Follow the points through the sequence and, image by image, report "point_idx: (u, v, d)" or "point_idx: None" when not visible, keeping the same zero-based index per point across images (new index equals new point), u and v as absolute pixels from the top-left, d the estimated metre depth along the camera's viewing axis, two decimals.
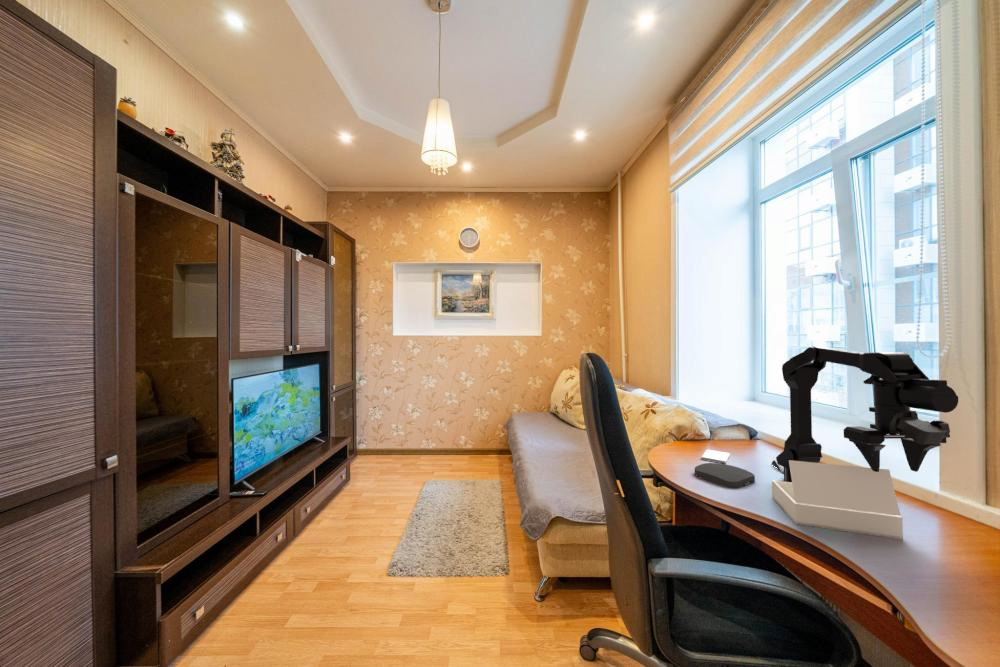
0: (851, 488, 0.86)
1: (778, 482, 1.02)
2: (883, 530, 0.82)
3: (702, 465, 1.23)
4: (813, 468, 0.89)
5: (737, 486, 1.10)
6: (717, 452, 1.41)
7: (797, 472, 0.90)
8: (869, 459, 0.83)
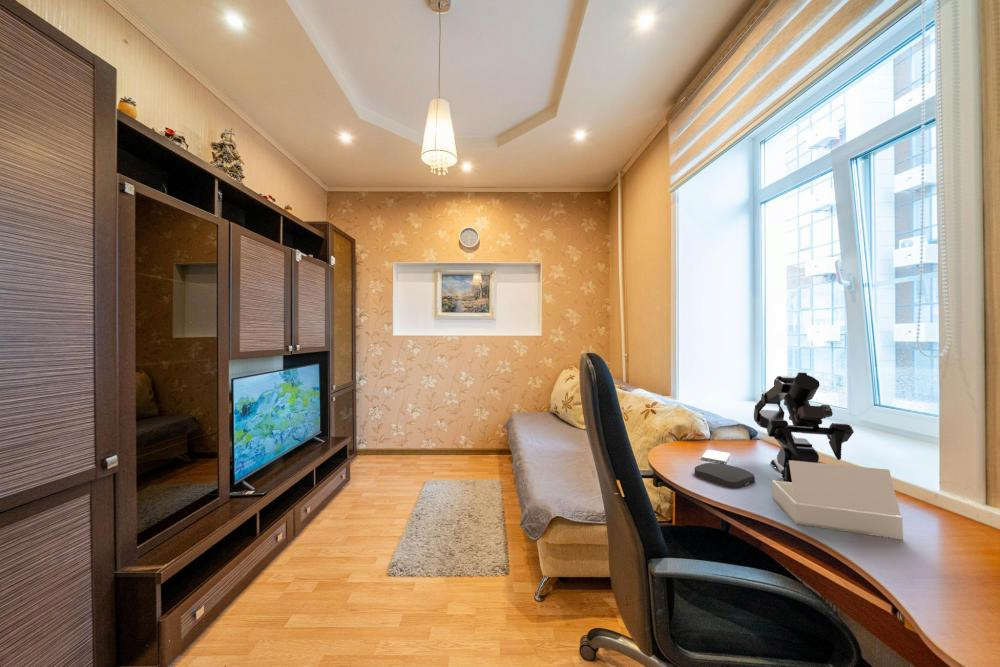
0: (851, 488, 0.86)
1: (778, 482, 1.02)
2: (883, 530, 0.82)
3: (702, 465, 1.23)
4: (813, 468, 0.89)
5: (737, 486, 1.10)
6: (717, 452, 1.41)
7: (797, 472, 0.90)
8: (790, 447, 1.01)
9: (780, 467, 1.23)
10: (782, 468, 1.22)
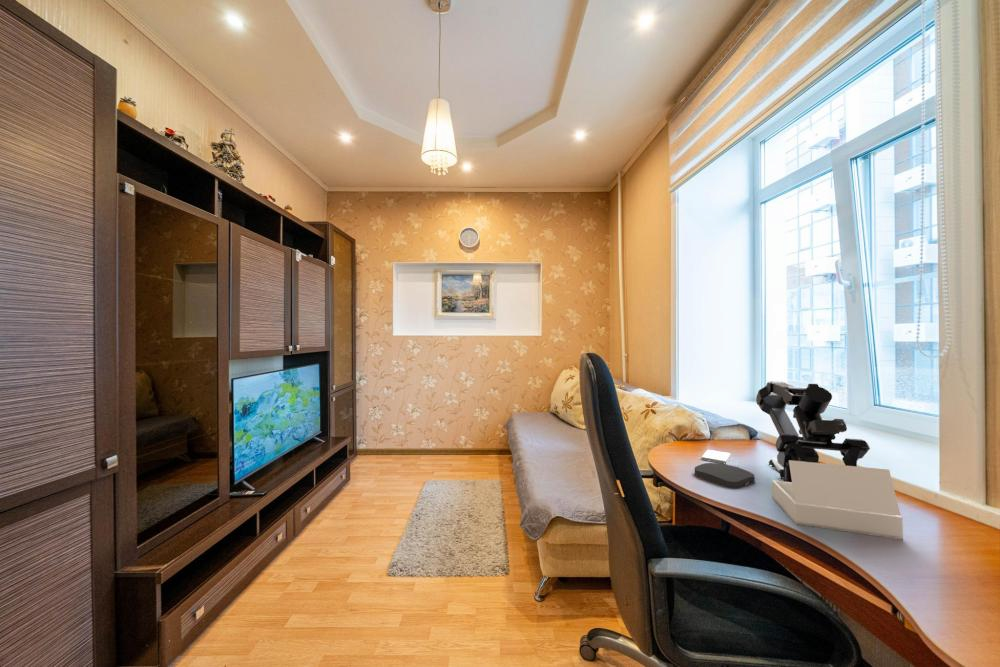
0: (851, 488, 0.86)
1: (778, 482, 1.02)
2: (883, 530, 0.82)
3: (702, 465, 1.23)
4: (813, 468, 0.89)
5: (737, 486, 1.10)
6: (718, 452, 1.41)
7: (797, 472, 0.90)
8: None
9: (778, 467, 1.23)
10: (780, 468, 1.22)
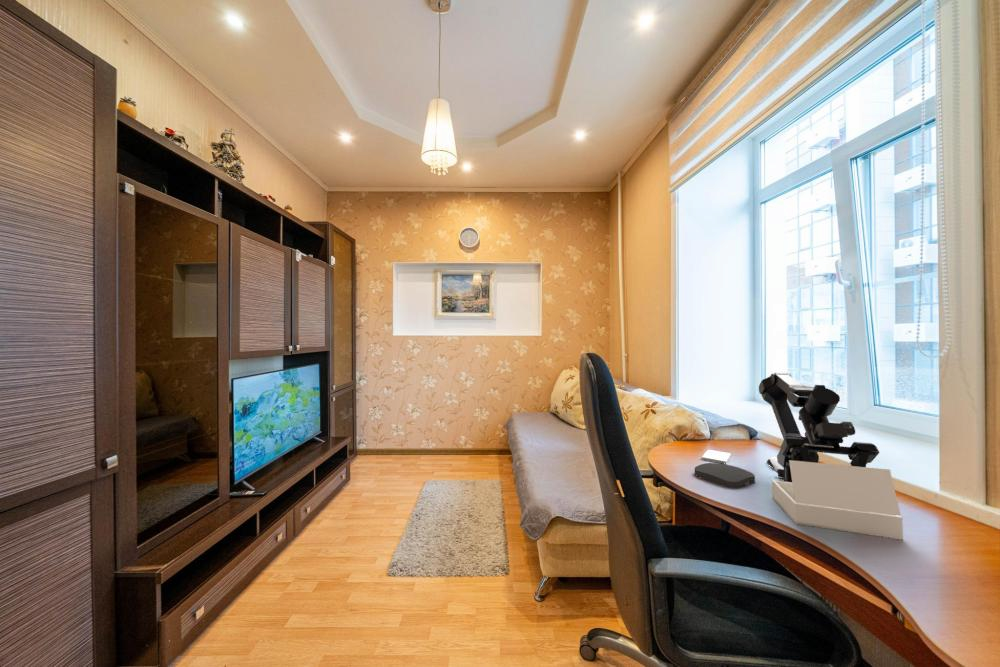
0: (851, 488, 0.85)
1: (778, 482, 1.02)
2: (883, 530, 0.82)
3: (702, 465, 1.23)
4: (813, 468, 0.89)
5: (737, 486, 1.10)
6: (718, 452, 1.41)
7: (797, 472, 0.90)
8: None
9: (776, 466, 1.24)
10: (778, 467, 1.23)
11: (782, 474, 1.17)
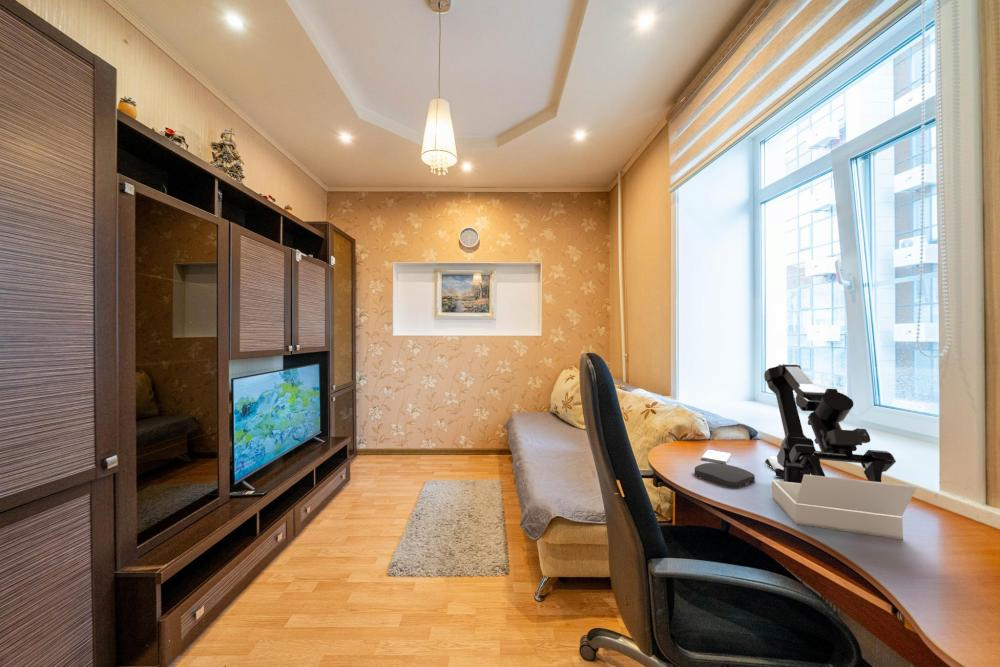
0: (862, 497, 0.81)
1: (778, 482, 1.02)
2: (883, 530, 0.82)
3: (702, 465, 1.23)
4: (829, 482, 0.82)
5: (737, 486, 1.10)
6: (718, 452, 1.41)
7: (809, 484, 0.84)
8: None
9: (774, 466, 1.24)
10: (776, 467, 1.23)
11: (780, 473, 1.17)
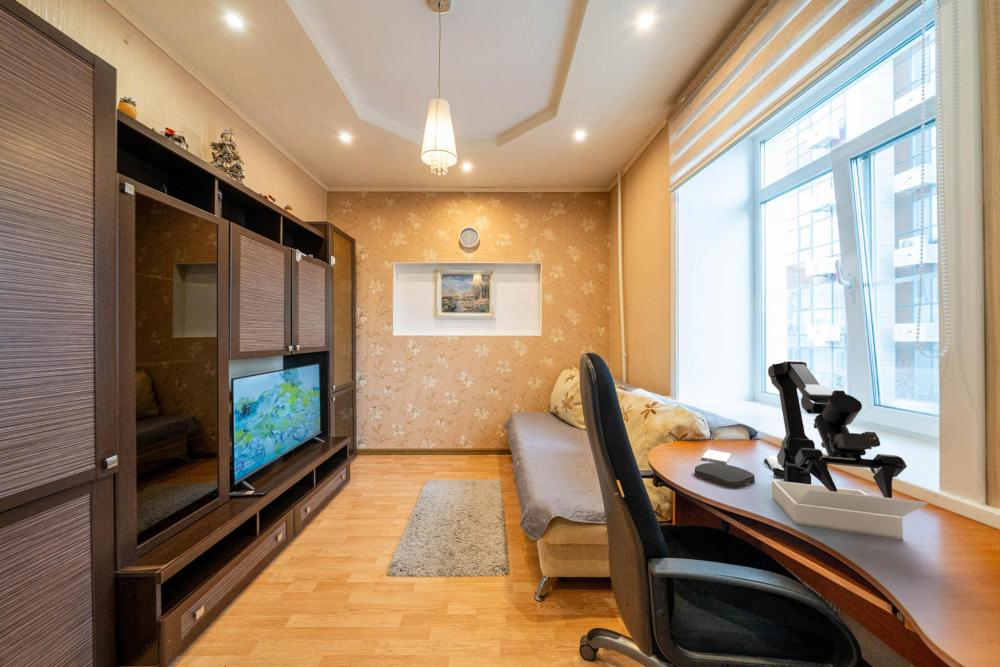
0: (866, 505, 0.80)
1: (778, 482, 1.02)
2: (883, 530, 0.82)
3: (702, 465, 1.23)
4: (834, 495, 0.80)
5: (737, 486, 1.10)
6: (718, 452, 1.41)
7: (813, 495, 0.82)
8: (825, 483, 0.82)
9: (772, 465, 1.25)
10: (774, 466, 1.24)
11: (778, 473, 1.18)
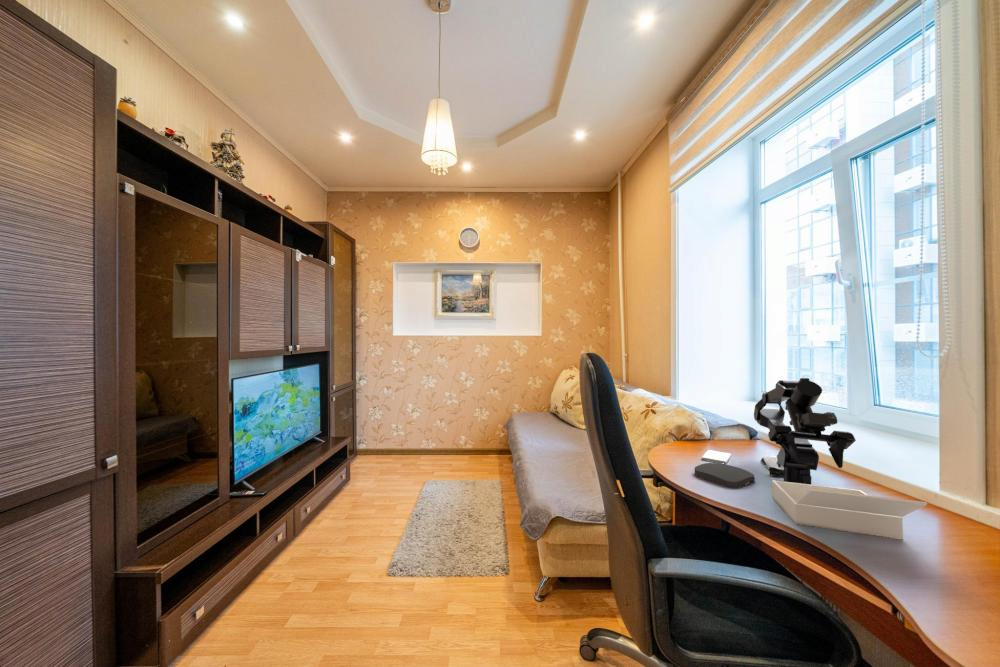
0: (866, 505, 0.80)
1: (778, 482, 1.02)
2: (883, 530, 0.82)
3: (702, 465, 1.23)
4: (834, 495, 0.80)
5: (737, 486, 1.10)
6: (718, 452, 1.41)
7: (813, 495, 0.82)
8: (792, 453, 1.00)
9: (769, 464, 1.25)
10: (770, 465, 1.25)
11: (773, 472, 1.18)
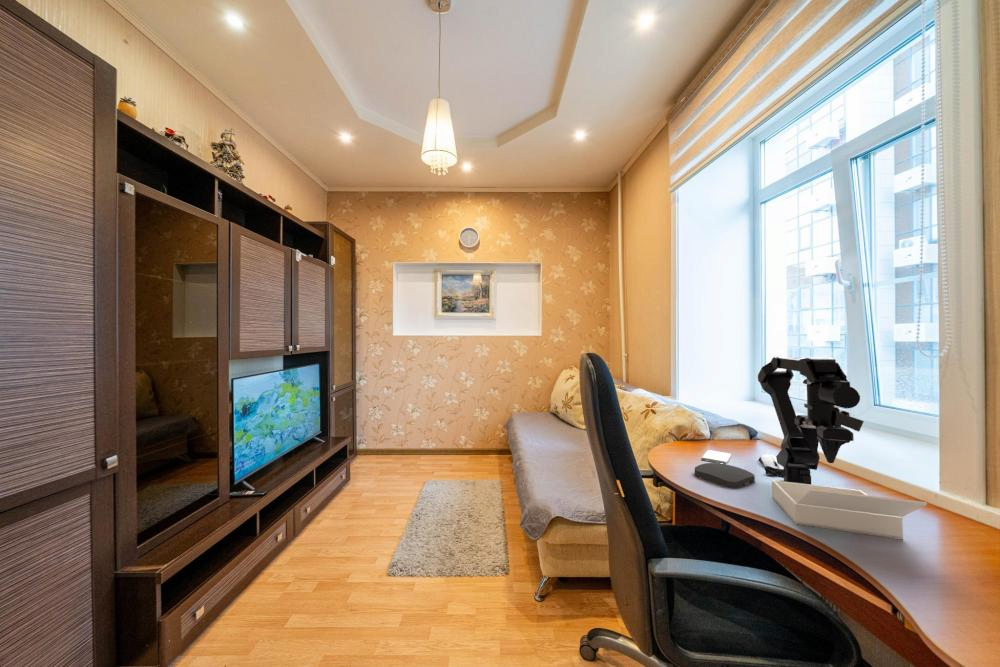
0: (866, 505, 0.80)
1: (778, 482, 1.02)
2: (883, 530, 0.82)
3: (702, 465, 1.23)
4: (834, 495, 0.80)
5: (737, 486, 1.10)
6: (718, 453, 1.41)
7: (813, 495, 0.82)
8: (830, 453, 0.94)
9: (765, 464, 1.26)
10: (767, 465, 1.25)
11: (769, 471, 1.19)
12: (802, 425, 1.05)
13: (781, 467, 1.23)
